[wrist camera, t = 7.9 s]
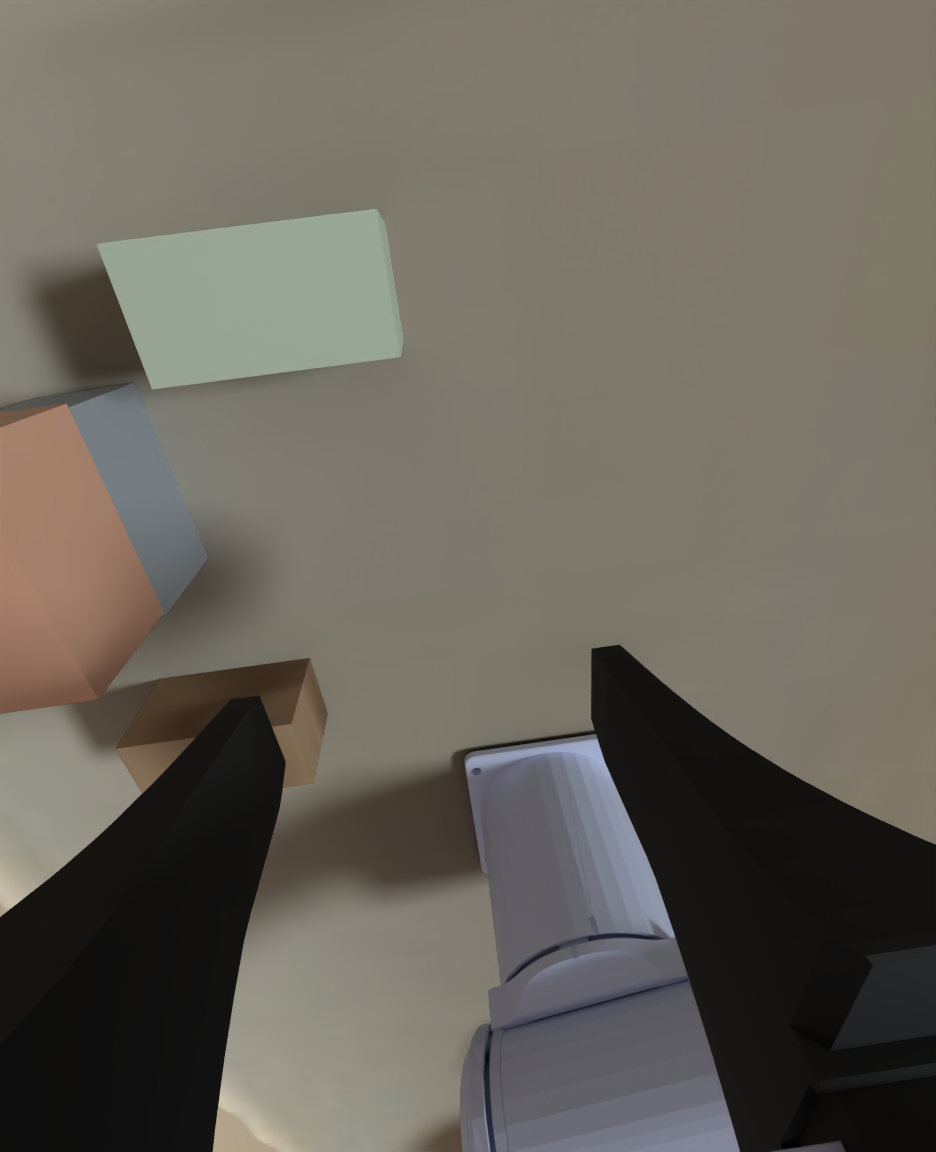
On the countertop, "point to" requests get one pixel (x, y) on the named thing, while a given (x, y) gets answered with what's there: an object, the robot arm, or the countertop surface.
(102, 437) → the slate brick
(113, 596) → the terracotta brick
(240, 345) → the sage brick
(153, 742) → the walnut brick
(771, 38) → the countertop surface
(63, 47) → the countertop surface
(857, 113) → the countertop surface
